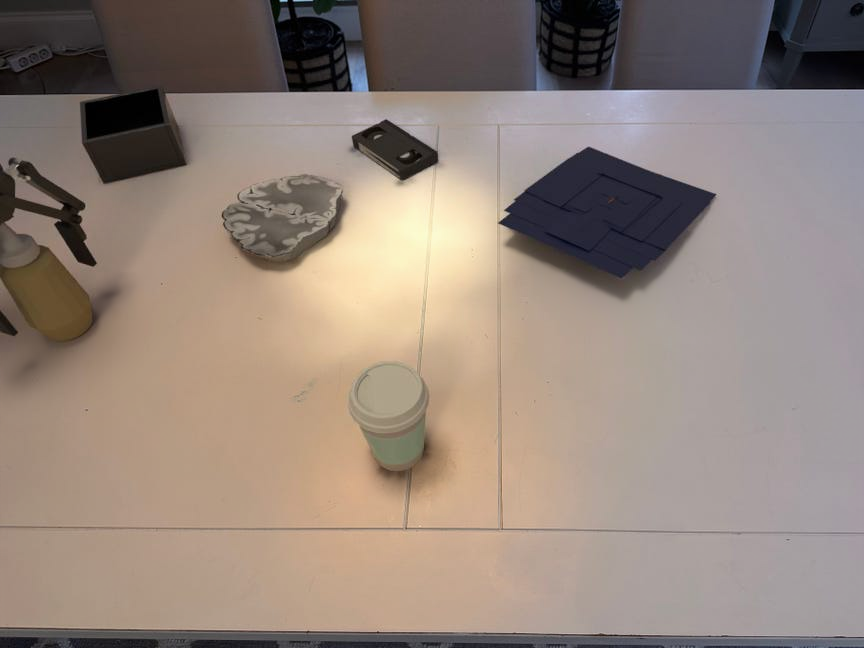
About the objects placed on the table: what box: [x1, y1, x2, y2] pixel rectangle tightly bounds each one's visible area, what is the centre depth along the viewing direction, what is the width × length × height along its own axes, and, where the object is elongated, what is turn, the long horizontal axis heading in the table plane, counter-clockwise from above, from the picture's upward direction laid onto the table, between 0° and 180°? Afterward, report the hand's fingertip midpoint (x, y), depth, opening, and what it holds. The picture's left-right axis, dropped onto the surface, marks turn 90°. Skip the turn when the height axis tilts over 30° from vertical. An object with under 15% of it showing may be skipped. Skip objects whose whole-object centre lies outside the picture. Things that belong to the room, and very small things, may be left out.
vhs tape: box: [351, 118, 439, 181], centre depth 117 cm, size 14×8×2 cm, turn 43°
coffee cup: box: [347, 360, 430, 472], centre depth 74 cm, size 8×8×12 cm
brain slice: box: [221, 173, 344, 263], centre depth 104 cm, size 20×17×3 cm
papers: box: [497, 146, 717, 280], centre depth 104 cm, size 24×30×4 cm
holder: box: [79, 85, 187, 185], centre depth 116 cm, size 14×14×8 cm
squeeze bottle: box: [0, 222, 93, 342], centre depth 85 cm, size 8×8×18 cm
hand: (49, 295), depth 88 cm, fingers open, 13 cm apart
